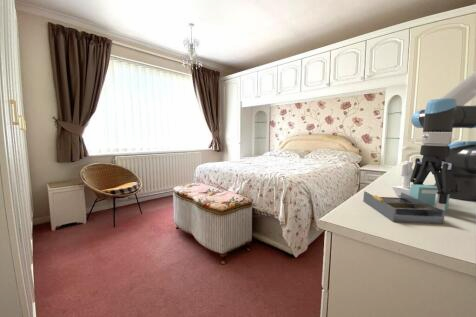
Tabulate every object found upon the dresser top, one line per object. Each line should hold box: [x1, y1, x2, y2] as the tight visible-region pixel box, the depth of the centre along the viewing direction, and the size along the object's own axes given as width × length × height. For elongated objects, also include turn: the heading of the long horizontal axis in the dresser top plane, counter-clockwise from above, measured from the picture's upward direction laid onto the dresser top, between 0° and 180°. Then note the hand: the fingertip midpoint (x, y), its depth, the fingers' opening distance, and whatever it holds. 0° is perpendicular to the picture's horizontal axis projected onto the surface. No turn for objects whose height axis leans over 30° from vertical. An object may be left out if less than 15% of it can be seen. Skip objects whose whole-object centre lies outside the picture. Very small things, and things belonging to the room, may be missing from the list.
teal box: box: [410, 183, 450, 211], centre depth 77 cm, size 10×4×8 cm, turn 84°
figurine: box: [391, 160, 414, 197], centre depth 90 cm, size 7×9×15 cm
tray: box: [362, 190, 446, 225], centre depth 73 cm, size 14×19×5 cm
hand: (427, 207), depth 77 cm, fingers open, 9 cm apart
